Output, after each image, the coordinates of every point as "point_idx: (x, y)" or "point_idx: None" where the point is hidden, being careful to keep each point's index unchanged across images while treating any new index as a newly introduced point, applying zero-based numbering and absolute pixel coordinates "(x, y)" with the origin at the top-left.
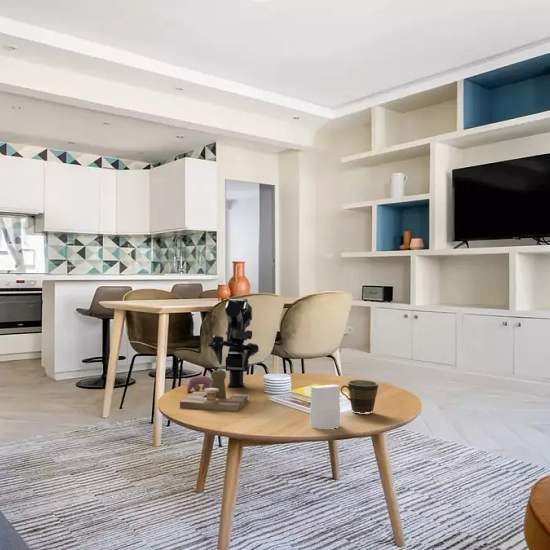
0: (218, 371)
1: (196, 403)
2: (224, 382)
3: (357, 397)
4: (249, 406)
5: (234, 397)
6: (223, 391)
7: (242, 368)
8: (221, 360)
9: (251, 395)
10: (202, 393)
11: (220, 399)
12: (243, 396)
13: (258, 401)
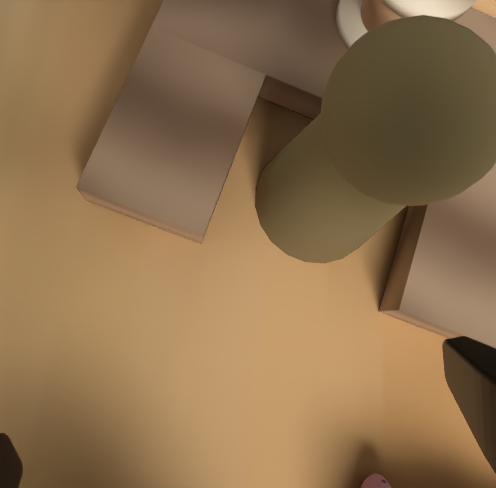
0: (450, 31)
1: (471, 12)
2: (316, 127)
3: None
4: (110, 28)
5: (207, 109)
6: (303, 129)
7: (15, 475)
8: (488, 365)
9: (11, 382)
10: (448, 272)
11: (319, 65)
12: (127, 132)
13: (3, 159)
